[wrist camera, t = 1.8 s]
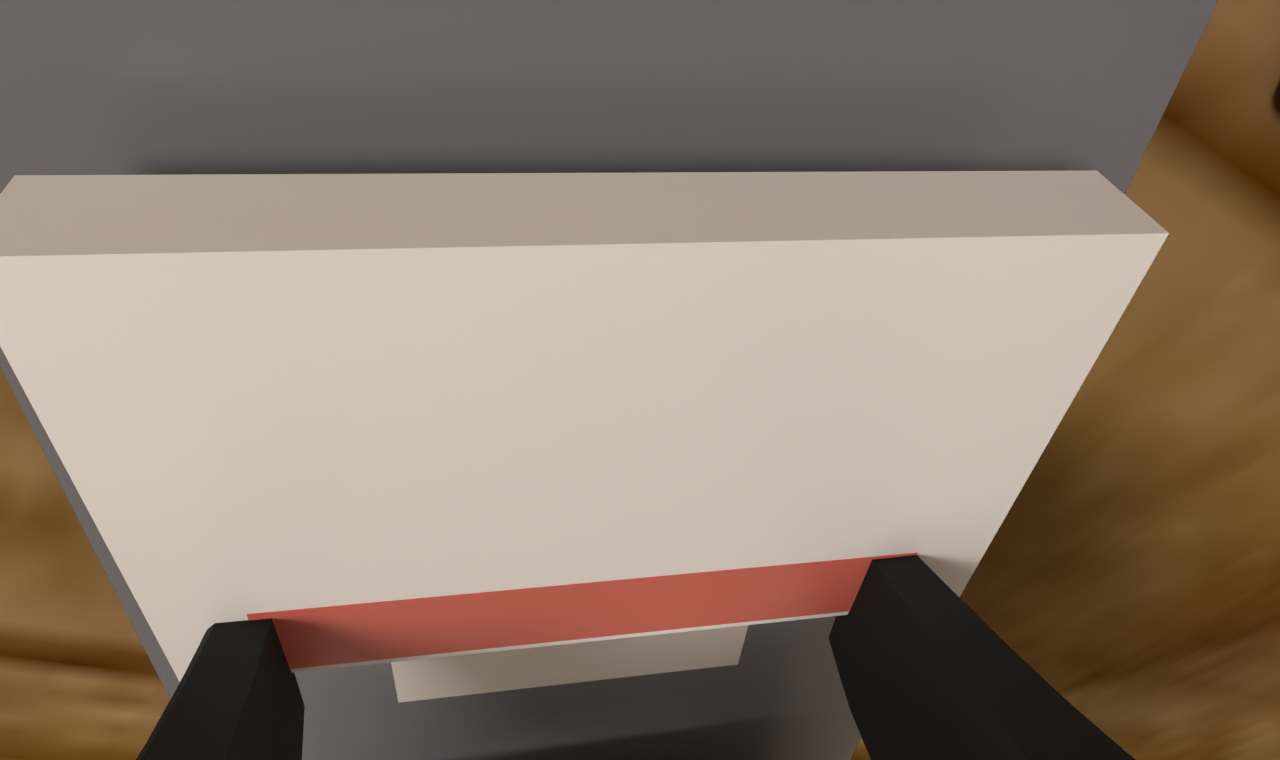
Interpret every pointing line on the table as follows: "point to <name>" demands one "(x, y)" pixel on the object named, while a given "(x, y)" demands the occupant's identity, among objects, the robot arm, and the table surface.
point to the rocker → (549, 389)
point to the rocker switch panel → (579, 143)
